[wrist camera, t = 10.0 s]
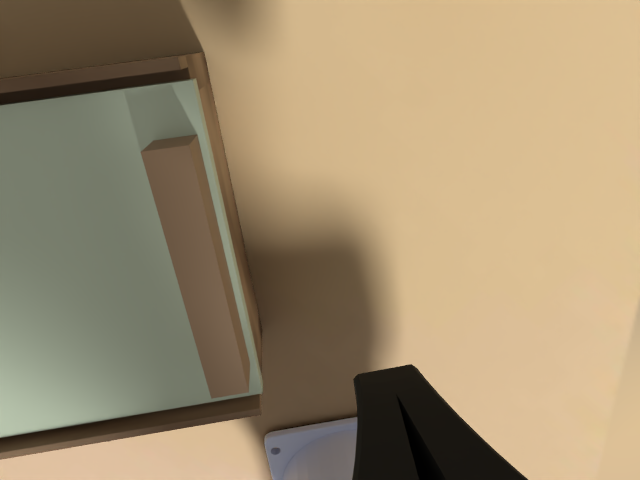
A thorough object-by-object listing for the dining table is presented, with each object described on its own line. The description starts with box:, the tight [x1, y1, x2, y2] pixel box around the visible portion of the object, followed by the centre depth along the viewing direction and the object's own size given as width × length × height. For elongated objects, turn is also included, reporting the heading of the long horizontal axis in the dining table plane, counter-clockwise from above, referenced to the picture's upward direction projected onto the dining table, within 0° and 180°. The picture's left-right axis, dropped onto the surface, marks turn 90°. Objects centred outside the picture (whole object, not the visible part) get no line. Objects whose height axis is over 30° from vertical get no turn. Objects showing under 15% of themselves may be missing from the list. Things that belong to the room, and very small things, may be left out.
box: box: [0, 52, 262, 460], centre depth 16 cm, size 12×12×5 cm
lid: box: [0, 78, 263, 438], centre depth 13 cm, size 11×11×2 cm
